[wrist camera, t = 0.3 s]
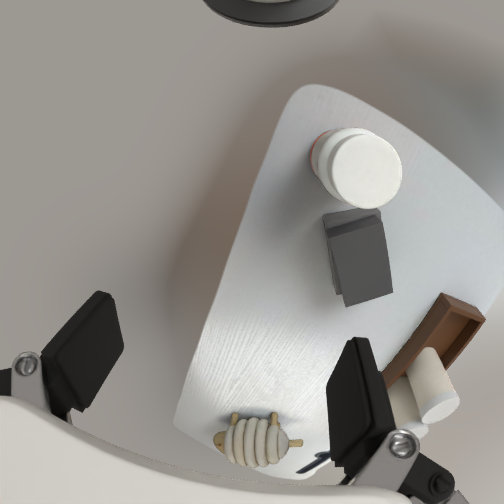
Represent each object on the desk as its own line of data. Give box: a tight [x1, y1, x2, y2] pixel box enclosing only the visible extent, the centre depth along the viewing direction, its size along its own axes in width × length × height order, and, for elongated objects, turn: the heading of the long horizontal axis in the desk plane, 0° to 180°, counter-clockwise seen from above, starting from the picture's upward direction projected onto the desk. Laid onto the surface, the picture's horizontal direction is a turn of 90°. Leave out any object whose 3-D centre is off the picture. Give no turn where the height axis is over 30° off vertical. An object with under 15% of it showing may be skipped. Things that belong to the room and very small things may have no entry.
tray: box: [382, 293, 486, 390], centre depth 36 cm, size 28×10×3 cm, turn 162°
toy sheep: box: [213, 413, 303, 468], centre depth 42 cm, size 11×17×11 cm, turn 104°
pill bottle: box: [310, 128, 402, 209], centre depth 21 cm, size 6×6×11 cm
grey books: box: [323, 208, 393, 307], centre depth 28 cm, size 9×6×5 cm
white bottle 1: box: [387, 376, 429, 440], centre depth 34 cm, size 6×6×11 cm
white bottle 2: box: [405, 347, 460, 424], centre depth 31 cm, size 6×6×11 cm
